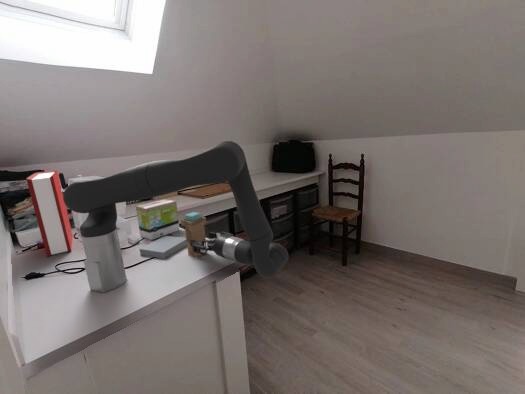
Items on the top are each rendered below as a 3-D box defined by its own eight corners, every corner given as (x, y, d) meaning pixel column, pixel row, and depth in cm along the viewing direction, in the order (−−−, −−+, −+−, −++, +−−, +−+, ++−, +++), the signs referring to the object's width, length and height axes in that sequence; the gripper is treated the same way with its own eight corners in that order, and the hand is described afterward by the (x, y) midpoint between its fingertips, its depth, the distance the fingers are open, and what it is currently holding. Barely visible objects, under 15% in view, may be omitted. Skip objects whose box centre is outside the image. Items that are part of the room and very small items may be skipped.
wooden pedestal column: (210, 252, 103) (205, 217, 99) (196, 259, 98) (191, 222, 95) (199, 249, 107) (195, 215, 103) (185, 255, 102) (180, 220, 99)
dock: (164, 258, 100) (163, 252, 99) (140, 254, 105) (139, 248, 104) (188, 244, 112) (187, 238, 112) (166, 241, 117) (165, 235, 117)
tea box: (152, 240, 119) (146, 208, 115) (140, 236, 125) (134, 206, 121) (180, 230, 130) (176, 200, 127) (168, 226, 136) (164, 198, 133)
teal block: (201, 221, 99) (200, 213, 99) (192, 224, 96) (191, 216, 96) (194, 219, 102) (193, 211, 101) (185, 222, 99) (184, 214, 98)
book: (71, 251, 112) (52, 175, 105) (47, 257, 108) (26, 178, 101) (72, 234, 135) (57, 170, 127) (52, 238, 131) (35, 172, 123)
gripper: (245, 230, 93) (214, 222, 103) (214, 244, 82) (182, 234, 93) (247, 250, 95) (216, 241, 105) (216, 267, 84) (185, 255, 94)
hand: (200, 238), depth 99 cm, fingers open, 8 cm apart
